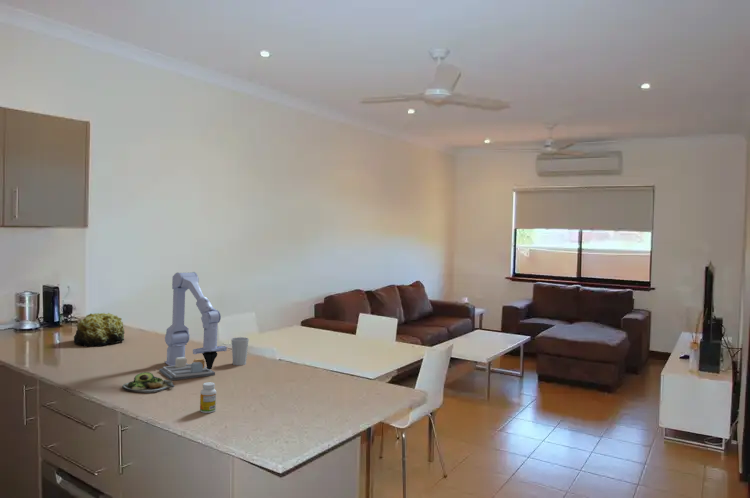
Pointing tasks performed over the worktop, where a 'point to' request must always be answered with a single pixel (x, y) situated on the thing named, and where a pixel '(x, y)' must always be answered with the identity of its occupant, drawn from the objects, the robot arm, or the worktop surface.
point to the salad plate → (147, 383)
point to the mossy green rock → (99, 330)
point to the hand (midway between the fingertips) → (209, 368)
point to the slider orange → (199, 361)
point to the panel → (184, 372)
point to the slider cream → (180, 362)
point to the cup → (239, 350)
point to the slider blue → (196, 367)
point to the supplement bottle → (208, 398)
